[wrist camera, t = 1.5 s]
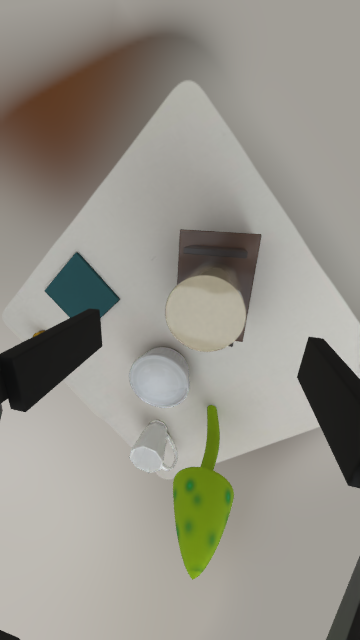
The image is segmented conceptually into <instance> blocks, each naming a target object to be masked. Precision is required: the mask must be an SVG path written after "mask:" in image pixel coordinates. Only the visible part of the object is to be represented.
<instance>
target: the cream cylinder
mask: <svg viewBox="0 0 360 640" xmlns="http://www.w3.org/2000/svg"><path fill="white" fill-rule="evenodd" d="M165 316H166V322H167V325H168V327H169V329H170V331H171V333H172V334H173V336H174V337H175V338H176V339H177V340H178V341H179V342H180V343H182V344H183V345H185V346H186V347H188V348H191V349H193V350H197V351H203V352H211V351H217V350H220V349H223V348H225V347H227V346H229V345H230V344H232V343H233V342H234V341H235V340H236V339H237V338H238V337H239V335H240V334H241V332H242V330H243V328H244V325H245V321H246V308H245V303H244V298H243V292H242V287H241V282H240V279H239V276H238V274H237V273H236V272H235V270H234V269H233V268H231V267H230V266H229V265H227V264H225V263H222V262H217V261H210V262H206V263H203V264H201V265H199V266H198V267H196V268H195V269H194V270H193V271H192V272H191V273H190V274H189V275H188V276H187V277H186V278H184V279H183V280H182V281H181V282H180V283H179V284H178V285H177V286H176V287H175V288H174V289H173V291H172V292H171V293H170V295H169V297H168V300H167V303H166V308H165Z"/></svg>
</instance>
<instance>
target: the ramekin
mask: <svg viewBox="0 0 360 640" xmlns="http://www.w3.org/2000/svg"><path fill="white" fill-rule="evenodd" d="M129 379H130V384H131V386H132V389H133V390H134V392H135V393H136V395H137V396H138V397H139V398H140V399H141V400H143V401H144V402H146V403H148V404H150V405H152V406H155V407H160V408H169V407H174V406H176V405H178V404H180V403H181V402H182V401H183V400H184V399H185V398H186V396H187V394H188V391H189V387H190V382H189V368H188V364H187V362H186V360H185V359H184V357H183V356H182V355H181V354H179V353H178V352H177V351H175V350H173V349H170V348H167V347H158V348H153V349H151V350H150V351H148V352H147V353H145V354H144V355H142V356H141V357H139V358H138V359H137V360H136V361H135V362H134V363H133V365H132V367H131V369H130V373H129Z"/></svg>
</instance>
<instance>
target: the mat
mask: <svg viewBox="0 0 360 640" xmlns="http://www.w3.org/2000/svg"><path fill="white" fill-rule="evenodd" d="M45 292H46V293H47V294H48V295H49V296H50V297H51V298H52V299H53V300H54V301H55V302H56V303H57V305H58V306H59V307H60V308H61V309H62V310H63V311H64V312H65V313H66V314H67V315H68V316H69V317H70V318H71V317H73V316H75V315H77V314H79V313H81V312H83V311H85V310H87V309H89V308H91V309H99V310H100V318H101V317H102V316H103V315H104V314H105V313H106V312H107V311H108V310H109V309H110V308H111V307H112V306H113V305H114V304H115V303H117V302H118V301H119V300H120V299H119V297H118V296H117V295H116V294H115V293H114V292H113V291H112V290H111V289H110V287H109V286H108V285H107V284H106V283H105V282H104V281H103V280H102V279H101V277H100V276H99V275H98V274H97V273H96V272H95V271H94V270H93V269H92V268H91V266H90V265H89V264H88V263H87V262H86V261H85V260H84V259H83V258H82V256H81V255H80V254H79V253H78V252H77V253H75V254H74V255H73V257H72V258H71V259H70V260H69V262H68V263H67V264H66V265H65V266H64V268H63V269H62V270H61V271H60V273H59V274H58V275H57V276H56V277H55V279H54V280H53V281H52V282H51V284H50V285H49V286H48V287H47V288H46V290H45Z"/></svg>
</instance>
